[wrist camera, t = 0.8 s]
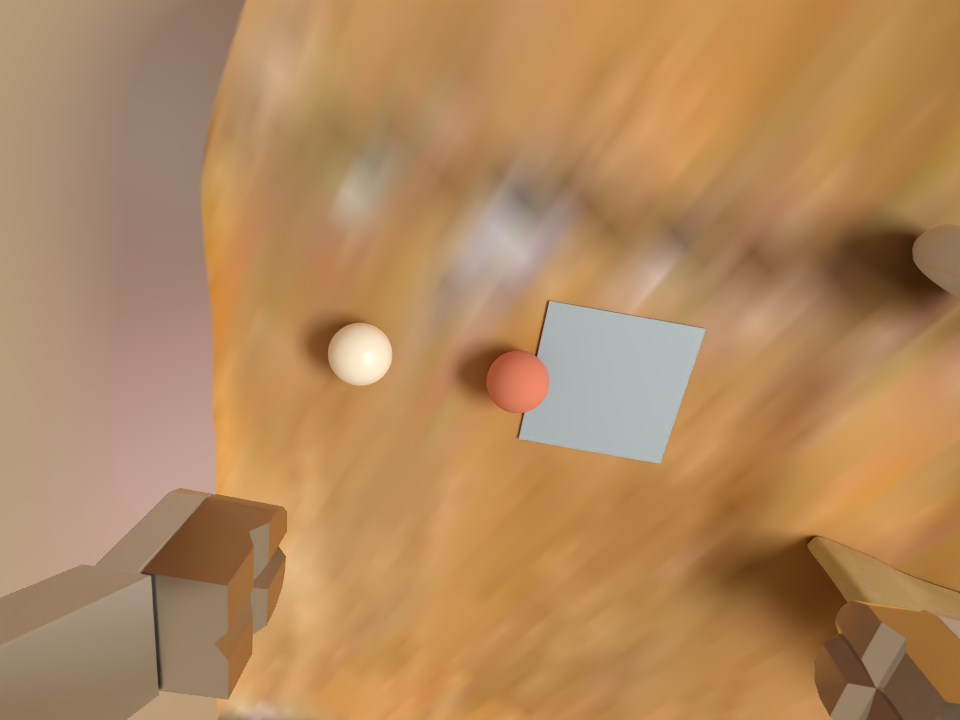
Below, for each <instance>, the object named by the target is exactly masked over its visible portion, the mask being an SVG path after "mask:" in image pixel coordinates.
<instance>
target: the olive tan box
mask: <svg viewBox="0 0 960 720" xmlns="http://www.w3.org/2000/svg"><path fill="white" fill-rule="evenodd" d="M807 547H808V549H809V550H810V552H811V553H812V554H813V556H814V557H815V558H816V560H817V561H818V562H819V564H820V565H821V566H822V567H823V569H824V570H825V571H826V573H827V574H828V575H829V577H830V578H831V579H832V581H833V582H834V584H835V585H836V586H837V588H838V589H839V591H840V592H841V594H842V595H843V597H844V598H845V600H846V601H847V602H849V601H851V600H855V601H861V602H868V603H874V604H880V605H887V606H893V607H899V608H906V609H912V610H918V611H922V610H925V611H933V612H940V613H947V614H954V615H960V593H959V592H956V591H953V590H949V589H946V588H943V587H940V586H937V585H934V584H931V583H928V582H925V581H922V580H920V579H917V578H914V577H912V576H909V575H907V574H905V573H902V572H900V571H898V570H896V569H894V568H892V567H890V566H888V565H886V564H884V563H882V562H880V561H878V560H876V559H874V558H872V557H870V556H868V555H866V554H863V553H861V552H859V551H856V550H854V549H851V548H849V547H846V546H844V545H841V544H839V543H836V542H834V541H831V540H828V539H826V538H823V537H819V536H818V537H814V538H813V539H812V540H811V541H810V542H809V543H808V544H807Z"/></svg>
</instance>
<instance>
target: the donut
mask: <svg viewBox="0 0 960 720" xmlns="http://www.w3.org/2000/svg"><path fill="white" fill-rule="evenodd" d="M912 253H913V261H914V262H915V264H916V266H917V267H918V268H919V270H920V271H921V272H922V273H923V274H924V275H926V276H927V277H928V278H929V279H930V280H932V281H933V282H934V283H936V284H937V285H938V286H940V287H941V288H943V289H944V290H946V291H947V292H949V293H950V294H952V295H953V296H955V297H957V298H958V299H960V226H957V225H942V226H938V227H935V228H933V229H930V230H928V231H925V232H924V233H923V234H921V235H920V236H919V237H918V238H917V239H916V241H915V242H914V245H913V248H912Z"/></svg>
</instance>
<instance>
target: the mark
mask: <svg viewBox="0 0 960 720" xmlns="http://www.w3.org/2000/svg"><path fill="white" fill-rule="evenodd" d="M705 330H706V329H705V328H701V327H695V326H690V325H684V324H678V323H673V322H667V321H661V320H656V319H650V318H645V317H639V316H633V315H628V314H622V313H616V312H611V311H605V310H600V309H594V308H588V307H583V306H577V305H572V304H566V303H560V302H555V301H549V304H548V309H547V313H546V318H545V322H544V327H543V331H542V336H541V340H540V345H539V349H538V354H537V357H538V358H539V359H540V360H541V362H542V363H543V364H544V366H545V367H546V369H547V372H548V375H549V389H548V392H547V395H546V397H545V398H544V400H543V401H542V402H541V403H540V405H538V406H537V407H536V408H534V409H533V410H531V411H528V412H524V416H523V421H522V425H521V430H520V434H519V439H522V440H528V441H534V442H540V443H545V444H551V445H557V446H563V447H568V448H574V449H580V450H586V451H591V452H597V453H603V454H609V455H614V456H620V457H626V458H632V459H637V460H643V461H649V462H654V463H660V462H661V459H662V457H663V454H664V451H665V448H666V445H667V442H668V439H669V436H670V433H671V430H672V427H673V424H674V421H675V418H676V415H677V412H678V410H679V407H680V404H681V401H682V398H683V395H684V392H685V389H686V386H687V383H688V380H689V377H690V374H691V371H692V368H693V366H694V363H695V360H696V357H697V354H698V351H699V348H700V345H701V342H702V339H703V336H704V333H705Z"/></svg>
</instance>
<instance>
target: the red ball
mask: <svg viewBox="0 0 960 720" xmlns="http://www.w3.org/2000/svg"><path fill="white" fill-rule="evenodd" d="M486 381H487V390H488V393H489V395H490V397H491V399H492V400H493V401H494V403H495V404H496V405H497V406H499V407H500V408H501V409H503V410H505V411H508V412H512V413H524V412H528V411H531V410H533V409H534V408H536V407H537V406H538V405H540V403H541V402H542V401H543V400H544V398H545V397H546V395H547V392H548V389H549V375H548V372H547V369H546V367H545V366H544V364H543V363H542V362H541V360H540V359H539V358H538V357H536V356H535V355H533V354H531V353H528V352H525V351H510V352H507V353H505V354H503V355H501V356H499V357H498V358H497V359H496V360H495V361H494V362H493V363H492V365H491V367H490V368H489V371H488V374H487V380H486Z"/></svg>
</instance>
